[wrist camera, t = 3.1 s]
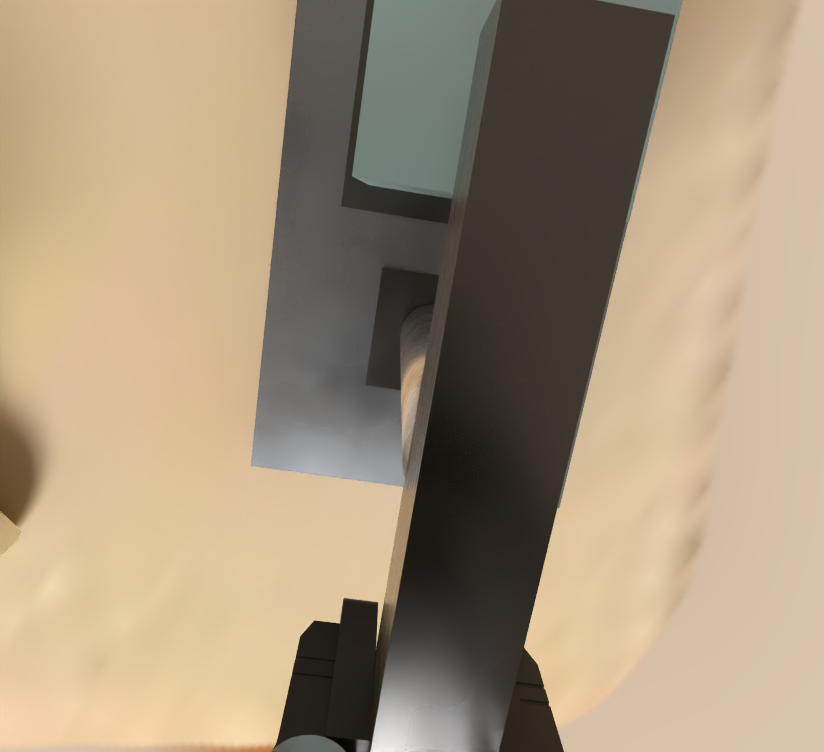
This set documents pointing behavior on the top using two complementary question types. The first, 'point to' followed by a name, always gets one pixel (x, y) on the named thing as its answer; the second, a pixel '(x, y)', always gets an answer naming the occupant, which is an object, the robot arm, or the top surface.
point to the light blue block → (432, 91)
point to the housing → (341, 272)
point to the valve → (7, 533)
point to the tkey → (507, 357)
